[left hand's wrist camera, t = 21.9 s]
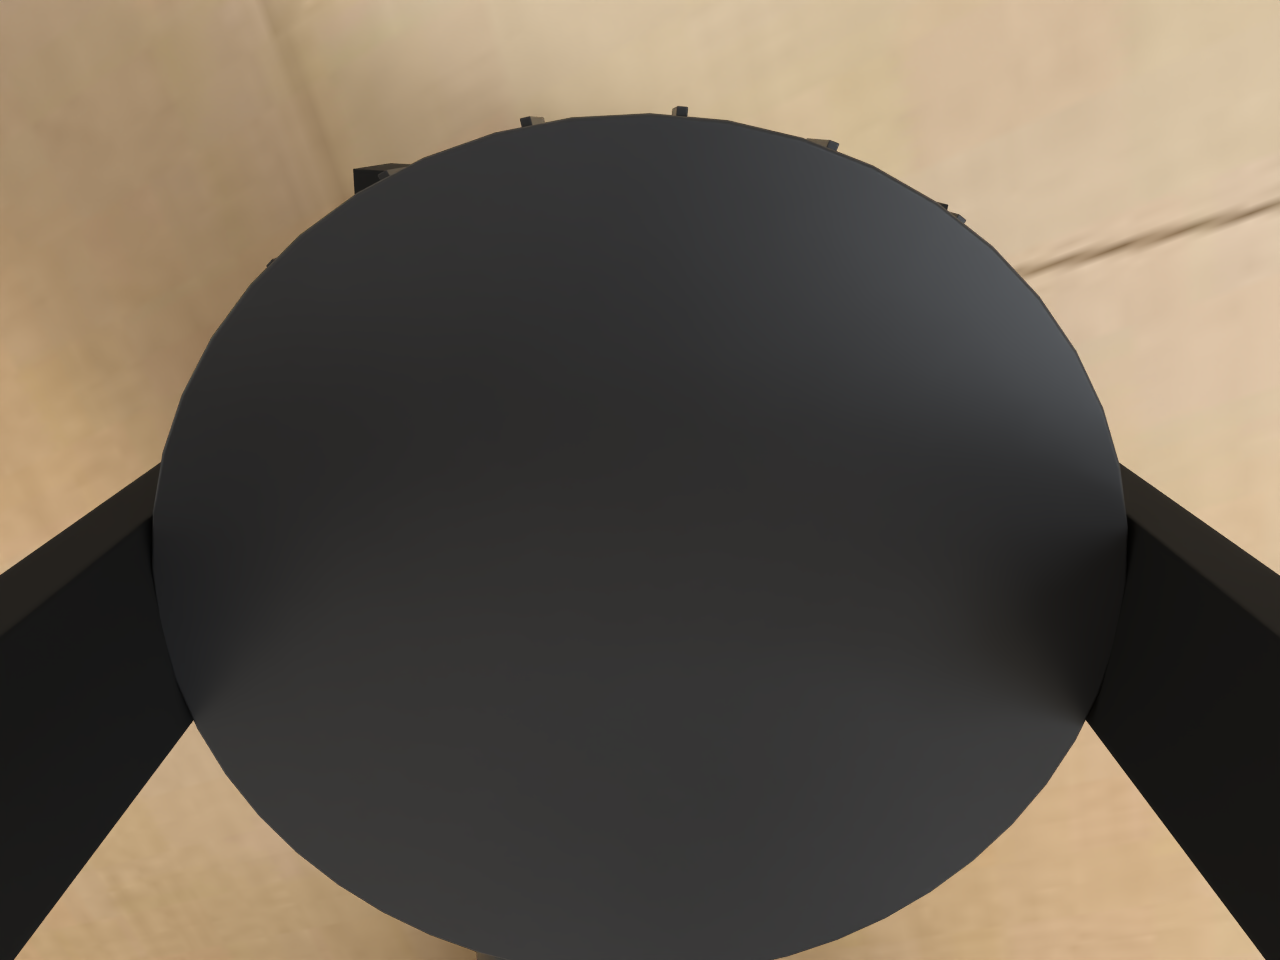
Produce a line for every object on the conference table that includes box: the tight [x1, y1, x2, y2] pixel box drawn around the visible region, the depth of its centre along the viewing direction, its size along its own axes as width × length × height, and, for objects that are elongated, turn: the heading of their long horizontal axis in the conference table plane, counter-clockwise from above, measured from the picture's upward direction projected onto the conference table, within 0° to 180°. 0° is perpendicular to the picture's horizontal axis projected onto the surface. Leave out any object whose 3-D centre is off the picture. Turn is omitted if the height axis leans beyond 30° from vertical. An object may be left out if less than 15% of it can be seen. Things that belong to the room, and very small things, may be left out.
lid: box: [152, 106, 1128, 960], centre depth 11 cm, size 11×11×2 cm
